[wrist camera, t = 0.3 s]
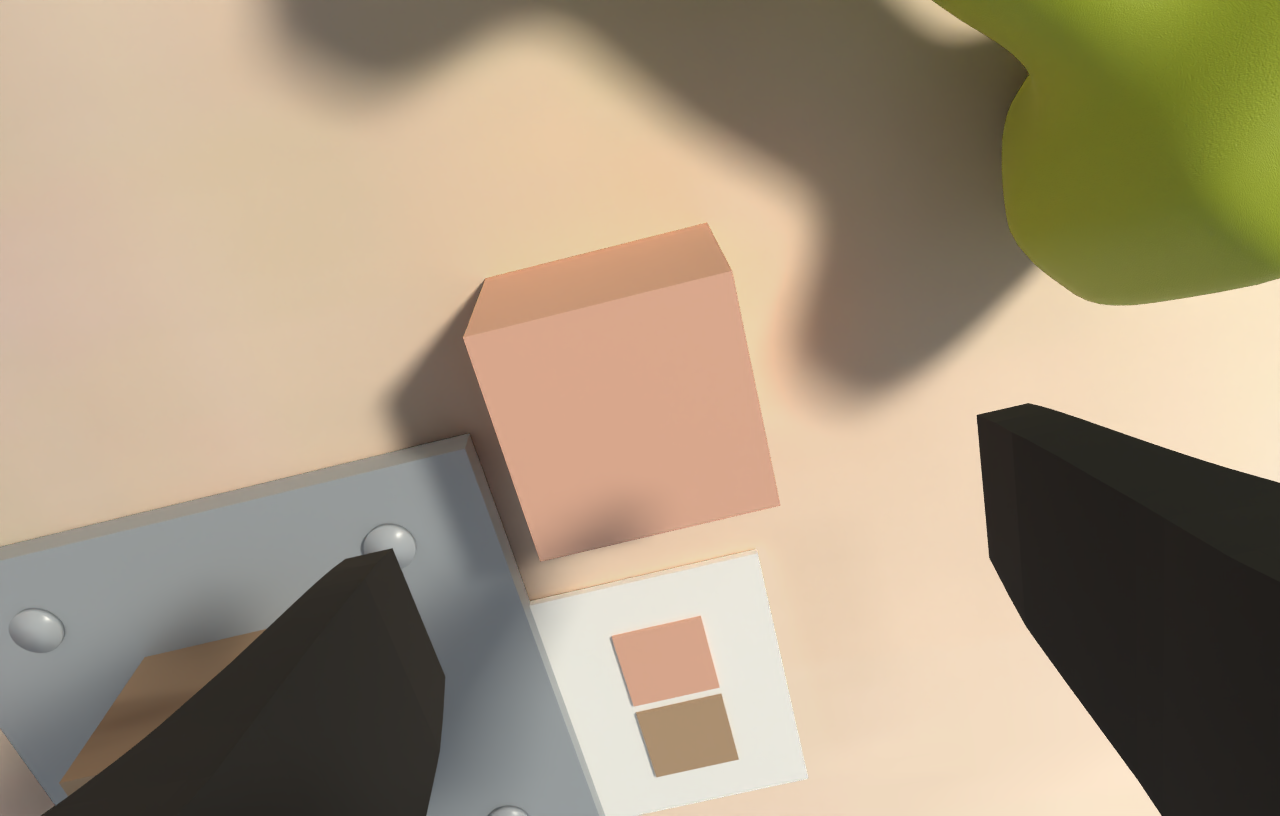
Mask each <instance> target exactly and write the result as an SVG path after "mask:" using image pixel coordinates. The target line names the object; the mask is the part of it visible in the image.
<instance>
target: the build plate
mask: <svg viewBox="0 0 1280 816" xmlns="http://www.w3.org/2000/svg"><path fill="white" fill-rule="evenodd" d="M391 548H393V551H394V553H395V555H396V558H397V560H398V563H399V565H400V568H401V570H402V572H403V575H404V577H405V580H406V582H407V585H408V587H409V589H410V592H411V594H412V597H413V599H414V602H415V604H416V606H417V609H418V611H419V614H420V616H421V619H422V621H423V623H424V626H425V628H426V631H427V633H428V636H429V638H430V640H431V643H432V645H433V648H434V650H435V653H436V655H437V657H438V660H439V662H440V665H441V667H442V670H443V672H444V674H445V693H444V710H443V724H442V734H441V745H440V753H439V758H438V763H437V768H436V773H435V778H434V783H433V787H432V792H431V797H430V801H429V806H428V811H427V815H426V816H605V813H604V811H603V808H602V805H601V802H600V800H599V797H598V794H597V791H596V789H595V786H594V783H593V780H592V778H591V775H590V772H589V769H588V766H587V764H586V761H585V758H584V755H583V753H582V750H581V747H580V744H579V742H578V739H577V736H576V733H575V731H574V728H573V725H572V722H571V719H570V717H569V714H568V711H567V708H566V706H565V703H564V700H563V697H562V695H561V692H560V689H559V686H558V684H557V681H556V678H555V675H554V672H553V670H552V667H551V664H550V661H549V659H548V656H547V653H546V650H545V648H544V645H543V642H542V639H541V637H540V634H539V631H538V628H537V625H536V623H535V620H534V617H533V614H532V612H531V609H530V606H529V605H530V600H529V597H528V594H527V592H526V589H525V586H524V583H523V581H522V578H521V575H520V572H519V569H518V567H517V564H516V561H515V558H514V556H513V553H512V550H511V547H510V545H509V542H508V539H507V536H506V533H505V531H504V528H503V525H502V522H501V520H500V517H499V514H498V511H497V508H496V506H495V503H494V500H493V497H492V495H491V492H490V489H489V486H488V483H487V481H486V478H485V475H484V472H483V470H482V467H481V464H480V461H479V458H478V456H477V453H476V450H475V447H474V445H473V442H472V439H471V436H470V434H469V433H468V434H464V435H460V436H456V437H452V438H448V439H444V440H439V441H435V442H431V443H427V444H423V445H419V446H415V447H411V448H406V449H402V450H398V451H394V452H390V453H386V454H382V455H378V456H373V457H369V458H365V459H361V460H357V461H353V462H349V463H345V464H340V465H336V466H332V467H328V468H324V469H320V470H316V471H311V472H307V473H303V474H299V475H295V476H291V477H287V478H283V479H278V480H274V481H270V482H266V483H262V484H258V485H254V486H250V487H245V488H241V489H237V490H233V491H229V492H225V493H221V494H217V495H212V496H208V497H204V498H200V499H196V500H192V501H188V502H184V503H179V504H175V505H171V506H167V507H163V508H159V509H155V510H150V511H146V512H142V513H138V514H134V515H130V516H126V517H122V518H117V519H113V520H109V521H105V522H101V523H97V524H93V525H89V526H84V527H80V528H76V529H72V530H68V531H64V532H60V533H56V534H51V535H47V536H43V537H39V538H35V539H31V540H27V541H23V542H18V543H14V544H10V545H6V546H2V547H0V729H1V730H2V732H3V733H4V734H5V736H6V737H7V739H8V740H9V741H10V743H11V744H12V746H13V747H14V748H15V750H16V751H17V753H18V754H19V755H20V757H21V758H22V760H23V761H24V762H25V764H26V765H27V767H28V768H29V769H30V771H31V772H32V774H33V775H34V776H35V778H36V779H37V781H38V782H39V783H40V785H41V786H42V788H43V789H44V790H45V792H46V793H47V795H48V796H49V797H50V799H51V800H52V802H53V803H54V804H55V806H56V805H57V804H58V803H60V802H61V801H62V800H64V799H65V798H67V797H68V795H67V794H66V793H65V791H64V790H63V788H62V787H61V785H60V784H59V782H60V781H61V779H62V778H63V776H64V775H65V774H66V772H67V771H68V769H69V768H70V766H71V765H72V763H73V762H74V760H75V759H76V757H77V756H78V754H79V753H80V751H81V750H82V749H83V747H84V746H85V744H86V743H87V741H88V740H89V738H90V737H91V735H92V734H93V732H94V731H95V729H96V728H97V726H98V725H99V724H100V722H101V721H102V719H103V718H104V716H105V715H106V713H107V712H108V710H109V709H110V707H111V706H112V704H113V703H114V701H115V700H116V699H117V697H118V696H119V694H120V693H121V691H122V690H123V688H124V687H125V685H126V684H127V682H128V681H129V679H130V678H131V676H132V675H133V674H134V672H135V671H136V669H137V668H138V666H139V665H140V663H141V662H142V660H143V659H144V657H148V656H152V655H156V654H161V653H165V652H169V651H174V650H178V649H182V648H186V647H191V646H195V645H199V644H204V643H208V642H212V641H217V640H221V639H225V638H229V637H234V636H238V635H242V634H247V633H251V632H255V631H260V630H264V629H267V628H268V627H269V626H270V625H271V624H272V623H273V622H274V621H275V620H276V619H278V618H279V617H280V616H281V615H282V614H283V613H284V612H285V611H286V610H287V609H288V608H289V607H290V606H291V605H292V604H293V603H294V602H296V601H297V600H298V599H299V598H300V597H301V596H302V595H303V594H304V593H305V592H306V591H307V590H308V589H310V588H311V587H312V586H313V585H314V584H315V583H316V582H317V581H318V580H319V579H321V578H322V577H323V576H324V575H325V574H326V573H328V572H329V571H330V570H331V569H332V568H334V567H335V566H336V565H338V564H339V563H340V562H342V561H343V560H344V559H347V558H351V557H356V556H360V555H364V554H369V553H373V552H378V551H382V550H386V549H391Z"/></svg>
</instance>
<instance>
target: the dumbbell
mask: <svg viewBox="0 0 1280 816" xmlns="http://www.w3.org/2000/svg"><path fill="white" fill-rule="evenodd" d="M932 1H934V2H935V3H936V4H938V5H939V6H941V7H942V8H944V9H945V10H946V11H948V12H949V13H951V14H952V15H954V16H955V17H957V18H958V19H960V20H961V21H963V22H964V23H966V24H968V25H969V26H971V27H973V28H974V29H976V30H978V31H979V32H981V33H982V34H984V35H986V36H987V37H989V38H990V39H992V40H994V41H995V42H997V43H998V44H1000V45H1001V46H1002V47H1004V48H1005V49H1006V50H1008V51H1009V52H1010V53H1012V54H1013V55H1014V56H1015V57H1016V58H1017V59H1018V60H1019V61H1020V62H1021V63H1022V64H1023V65H1024V67H1025V68H1026V70H1027V72H1028V73H1029V75H1028V77H1027V78H1026V80H1025V81H1024V83H1023V85H1022V86H1021V88H1020V89H1019V91H1018V93H1017V94H1016V96H1015V98H1014V99H1013V101H1012V103H1011V106H1010V108H1009V111H1008V113H1007V117H1006V121H1005V125H1004V131H1003V137H1002V183H1003V194H1004V202H1005V210H1006V217H1007V222H1008V226H1009V230H1010V232H1011V234H1012V235H1013V237H1014V239H1015V241H1016V243H1017V245H1018V246H1019V247H1020V248H1021V250H1022V251H1023V252H1024V253H1025V254H1026V255H1027V256H1028V257H1029V259H1030V260H1031V261H1032V262H1033V263H1034V264H1035V265H1036V266H1037V267H1039V268H1040V269H1041V270H1042V271H1043V272H1045V273H1046V274H1047V275H1048V276H1050V277H1051V278H1052V279H1054V280H1055V281H1057V282H1058V283H1059V284H1061V285H1062V286H1064V287H1065V288H1066V289H1068V290H1069V291H1071V292H1072V293H1073V294H1075V295H1077V296H1079V297H1081V298H1083V299H1085V300H1087V301H1090V302H1094V303H1098V304H1105V305H1138V304H1147V303H1155V302H1162V301H1168V300H1175V299H1181V298H1187V297H1193V296H1199V295H1205V294H1211V293H1217V292H1222V291H1227V290H1232V289H1238V288H1243V287H1248V286H1253V285H1258V284H1261V283H1265V282H1268V281H1272V280H1275V279H1279V278H1280V0H932Z"/></svg>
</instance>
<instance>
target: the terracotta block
mask: <svg viewBox="0 0 1280 816" xmlns="http://www.w3.org/2000/svg"><path fill="white" fill-rule="evenodd" d="M463 339H464V342H465V345H466V348H467V351H468V354H469V357H470V360H471V362H472V365H473V368H474V371H475V374H476V377H477V380H478V383H479V386H480V388H481V391H482V394H483V397H484V400H485V403H486V406H487V409H488V412H489V415H490V417H491V420H492V423H493V426H494V429H495V432H496V435H497V438H498V441H499V443H500V446H501V449H502V452H503V455H504V458H505V461H506V464H507V467H508V470H509V472H510V475H511V478H512V481H513V484H514V487H515V490H516V493H517V496H518V498H519V501H520V504H521V507H522V510H523V513H524V516H525V519H526V522H527V525H528V527H529V530H530V533H531V536H532V539H533V542H534V545H535V548H536V551H537V553H538V556H539V559H540V562H541V561H546V560H550V559H554V558H558V557H563V556H567V555H571V554H575V553H580V552H584V551H588V550H593V549H597V548H601V547H605V546H610V545H614V544H618V543H622V542H627V541H631V540H635V539H640V538H644V537H648V536H652V535H657V534H661V533H665V532H669V531H674V530H678V529H682V528H687V527H691V526H695V525H699V524H704V523H708V522H712V521H716V520H721V519H725V518H729V517H734V516H738V515H742V514H746V513H751V512H755V511H759V510H763V509H768V508H772V507H776V506H780V501H779V496H778V491H777V487H776V482H775V477H774V472H773V467H772V462H771V457H770V453H769V448H768V443H767V438H766V433H765V428H764V424H763V419H762V414H761V409H760V404H759V399H758V395H757V390H756V385H755V380H754V375H753V370H752V366H751V361H750V356H749V351H748V346H747V341H746V336H745V332H744V327H743V322H742V317H741V312H740V307H739V303H738V298H737V293H736V288H735V283H734V278H733V274H732V270H731V268H730V266H729V264H728V262H727V260H726V258H725V256H724V254H723V253H722V251H721V249H720V247H719V245H718V243H717V241H716V239H715V237H714V235H713V233H712V231H711V229H710V227H709V225H708V224H707V223H703V224H699V225H696V226H692V227H688V228H684V229H680V230H676V231H672V232H668V233H664V234H660V235H656V236H652V237H648V238H644V239H640V240H636V241H632V242H628V243H624V244H620V245H616V246H612V247H608V248H604V249H600V250H596V251H592V252H588V253H584V254H580V255H576V256H572V257H568V258H564V259H560V260H556V261H552V262H549V263H545V264H541V265H537V266H533V267H529V268H525V269H521V270H517V271H513V272H509V273H505V274H501V275H497V276H493V277H489V278H486V279H485V281H484V284H483V287H482V289H481V292H480V294H479V297H478V300H477V302H476V305H475V307H474V310H473V313H472V315H471V318H470V321H469V323H468V326H467V328H466V331H465V334H464V336H463Z"/></svg>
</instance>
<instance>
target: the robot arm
mask: <svg viewBox="0 0 1280 816" xmlns="http://www.w3.org/2000/svg"><path fill="white" fill-rule="evenodd" d="M977 424H978V435H979V447H980V458H981V469H982V480H983V492H984V503H985V514H986V525H987V537H988V548H989V558H990V560H991V562H992V564H993V566H994V568H995V570H996V571H997V573H998V575H999V577H1000V579H1001V581H1002V583H1003V585H1004V587H1005V589H1006V591H1007V593H1008V595H1009V597H1010V598H1011V600H1012V602H1013V604H1014V606H1015V607H1016V609H1017V611H1018V613H1019V615H1020V616H1021V618H1022V620H1023V622H1024V624H1025V625H1026V627H1027V628H1028V630H1029V631H1030V633H1031V634H1032V635H1033V637H1034V638H1035V640H1036V641H1037V643H1038V644H1039V645H1040V647H1041V648H1042V650H1043V651H1044V652H1045V654H1046V655H1047V656H1048V658H1049V659H1050V661H1051V662H1052V663H1053V665H1054V666H1055V668H1056V669H1057V670H1058V672H1059V673H1060V674H1061V676H1062V677H1063V679H1064V680H1065V681H1066V683H1067V684H1068V685H1069V687H1070V688H1071V690H1072V691H1073V692H1074V694H1075V695H1076V696H1077V698H1078V699H1079V700H1080V702H1081V703H1082V705H1083V706H1084V707H1085V709H1086V710H1087V711H1088V713H1089V714H1090V715H1091V717H1092V718H1093V720H1094V721H1095V722H1096V724H1097V725H1098V726H1099V728H1100V729H1101V730H1102V732H1103V733H1104V735H1105V736H1106V737H1107V739H1108V740H1109V741H1110V743H1111V744H1112V745H1113V747H1114V748H1115V750H1116V751H1117V752H1118V754H1119V755H1120V756H1121V758H1122V759H1123V760H1124V762H1125V763H1126V764H1127V766H1128V767H1129V769H1130V770H1131V771H1132V773H1133V774H1134V775H1135V777H1136V778H1137V779H1138V781H1139V782H1140V784H1141V785H1142V787H1143V788H1144V790H1145V791H1146V793H1147V794H1148V796H1149V797H1150V799H1151V800H1152V802H1153V803H1154V805H1155V806H1156V808H1157V809H1158V811H1159V812H1160V814H1161V815H1162V816H1280V483H1278V482H1275V481H1271V480H1268V479H1264V478H1261V477H1257V476H1254V475H1250V474H1247V473H1243V472H1240V471H1236V470H1233V469H1229V468H1226V467H1222V466H1219V465H1216V464H1213V463H1210V462H1206V461H1203V460H1200V459H1197V458H1194V457H1191V456H1188V455H1184V454H1181V453H1178V452H1175V451H1172V450H1169V449H1166V448H1163V447H1160V446H1157V445H1154V444H1152V443H1149V442H1146V441H1143V440H1140V439H1137V438H1134V437H1131V436H1128V435H1125V434H1123V433H1120V432H1117V431H1114V430H1111V429H1108V428H1105V427H1103V426H1100V425H1097V424H1094V423H1091V422H1088V421H1085V420H1083V419H1080V418H1077V417H1074V416H1071V415H1068V414H1065V413H1062V412H1059V411H1055V410H1052V409H1049V408H1045V407H1042V406H1038V405H1033V404H1029V403H1028V404H1023V405H1019V406H1014V407H1010V408H1006V409H1001V410H997V411H992V412H988V413H984V414H979V415H977ZM444 693H445V674H444V672H443V670H442V667H441V665H440V662H439V660H438V657H437V655H436V653H435V650H434V648H433V645H432V643H431V640H430V638H429V636H428V633H427V631H426V628H425V626H424V623H423V621H422V619H421V616H420V614H419V611H418V609H417V606H416V604H415V602H414V599H413V597H412V594H411V592H410V589H409V587H408V585H407V582H406V580H405V577H404V575H403V572H402V570H401V568H400V565H399V563H398V560H397V558H396V555H395V553H394V551H393V548H391V549H386V550H382V551H378V552H373V553H369V554H364V555H360V556H356V557H351V558H347V559H344V560H343V561H342V562H340V563H339V564H338V565H336V566H335V567H334V568H332V569H331V570H330V571H329V572H328V573H326V574H325V575H324V576H323V577H322V578H321V579H319V580H318V581H317V582H316V583H315V584H314V585H313V586H312V587H311V588H310V589H308V590H307V591H306V592H305V593H304V594H303V595H302V596H301V597H300V598H299V599H298V600H297V601H296V602H294V603H293V604H292V605H291V606H290V607H289V608H288V609H287V610H286V611H285V612H284V613H283V614H282V615H281V616H280V617H279V618H278V619H276V620H275V621H274V622H273V623H272V624H271V625H270V626H269V627H268V628H267V629H266V630H265V631H264V632H263V633H262V634H261V635H259V636H258V637H257V638H256V639H255V640H254V641H253V642H252V643H251V644H250V645H249V646H248V647H247V648H246V649H245V650H244V651H242V652H241V653H240V654H239V655H238V656H237V657H236V658H235V659H234V660H233V661H232V662H231V663H230V664H229V665H227V666H226V667H225V668H224V669H223V670H222V671H221V672H220V673H218V674H217V675H216V676H215V677H214V678H213V679H212V680H210V681H209V682H208V683H207V684H206V685H205V686H204V687H203V688H201V689H200V690H199V691H198V692H197V693H196V694H195V695H193V696H192V697H191V698H190V699H189V700H188V701H187V702H185V703H184V704H183V705H182V706H181V707H180V708H179V709H177V710H176V711H175V712H174V713H173V714H172V715H171V716H170V717H168V718H167V719H166V720H165V721H164V722H163V723H162V724H160V725H159V726H158V727H157V728H156V729H154V730H153V731H152V732H151V733H150V734H148V735H147V736H146V737H145V738H144V739H142V740H141V741H140V742H139V743H137V744H136V745H135V746H134V747H132V748H131V749H130V750H129V751H127V752H126V753H125V754H124V755H122V756H121V757H120V758H118V759H117V760H116V761H115V762H113V763H112V764H111V765H109V766H108V767H107V768H105V769H104V770H103V771H101V772H100V773H99V774H97V775H96V776H95V777H93V778H92V779H91V780H89V781H88V782H87V783H85V784H84V785H83V786H81V787H80V788H79V789H77V790H76V791H75V792H73V793H72V794H71V795H69V796H68V797H67V798H65V799H64V800H62V801H61V802H60V803H58V804H57V805H56V806H54V807H53V808H51V809H50V810H48V811H47V812H45V813H44V814H42V815H41V816H426V815H427V811H428V806H429V801H430V797H431V792H432V787H433V783H434V778H435V773H436V768H437V763H438V758H439V753H440V745H441V734H442V724H443V710H444Z"/></svg>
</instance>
